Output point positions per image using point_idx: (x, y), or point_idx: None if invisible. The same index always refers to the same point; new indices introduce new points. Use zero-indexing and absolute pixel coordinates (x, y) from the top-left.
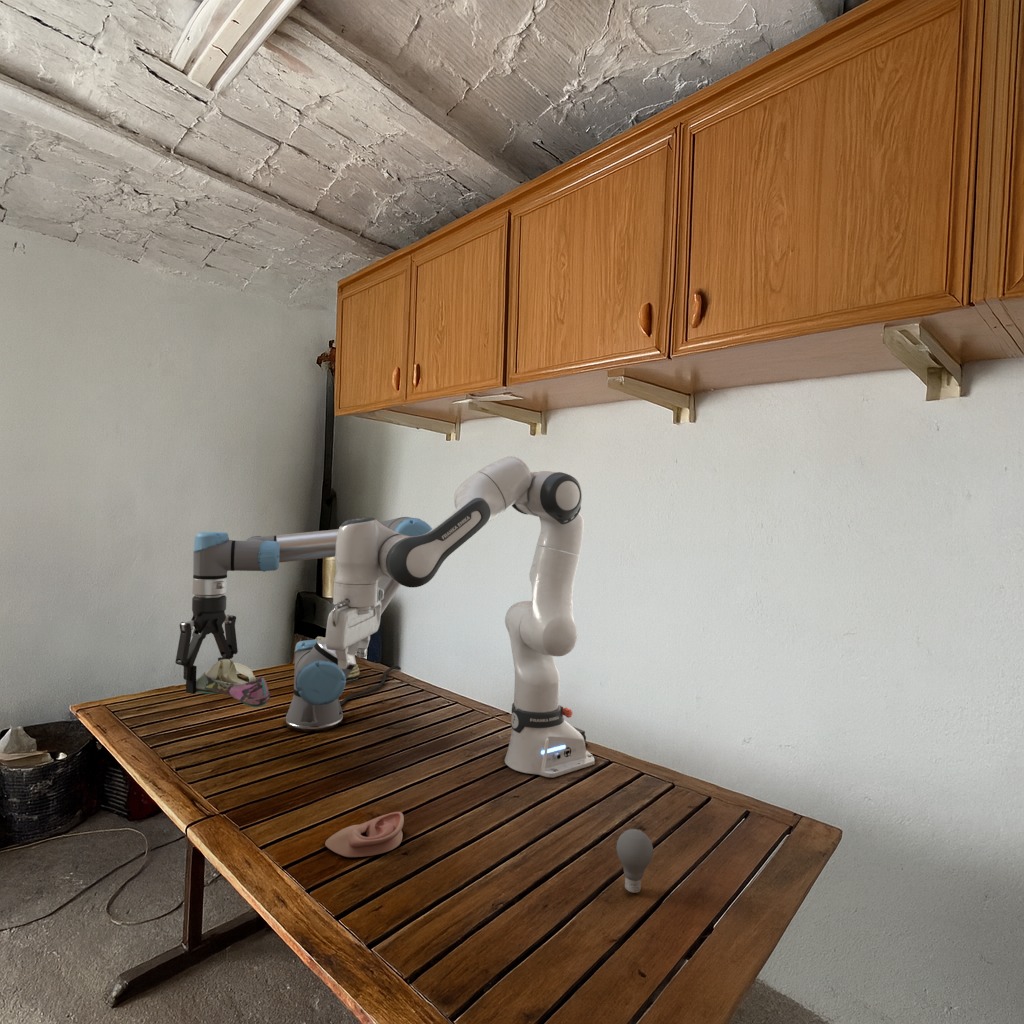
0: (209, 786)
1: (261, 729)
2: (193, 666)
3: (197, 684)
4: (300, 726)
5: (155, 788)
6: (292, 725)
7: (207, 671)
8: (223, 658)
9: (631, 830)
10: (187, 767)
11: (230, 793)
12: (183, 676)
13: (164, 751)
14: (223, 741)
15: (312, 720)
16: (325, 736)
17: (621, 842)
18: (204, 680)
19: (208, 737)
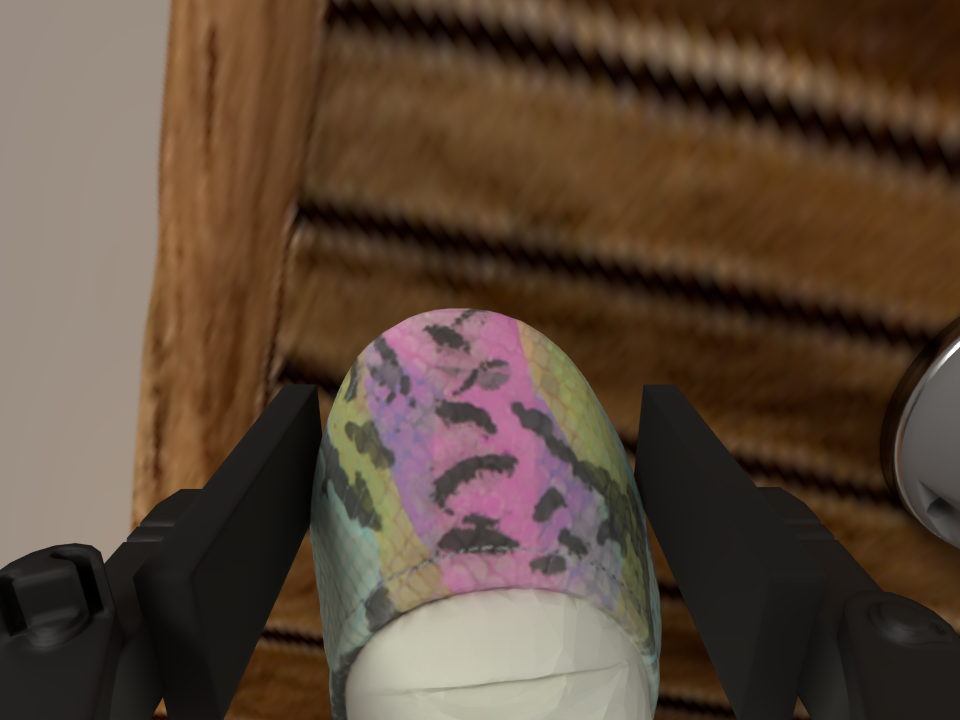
0: (289, 581)
1: (834, 275)
2: (175, 712)
3: (315, 545)
4: (897, 470)
5: (145, 459)
6: (901, 422)
7: (379, 697)
8: (785, 661)
9: None
10: (322, 389)
11: (307, 662)
12: (150, 512)
13: (349, 130)
14: (608, 259)
15: (957, 510)
16: (879, 565)
17: None
18: (329, 658)
19: (607, 141)
